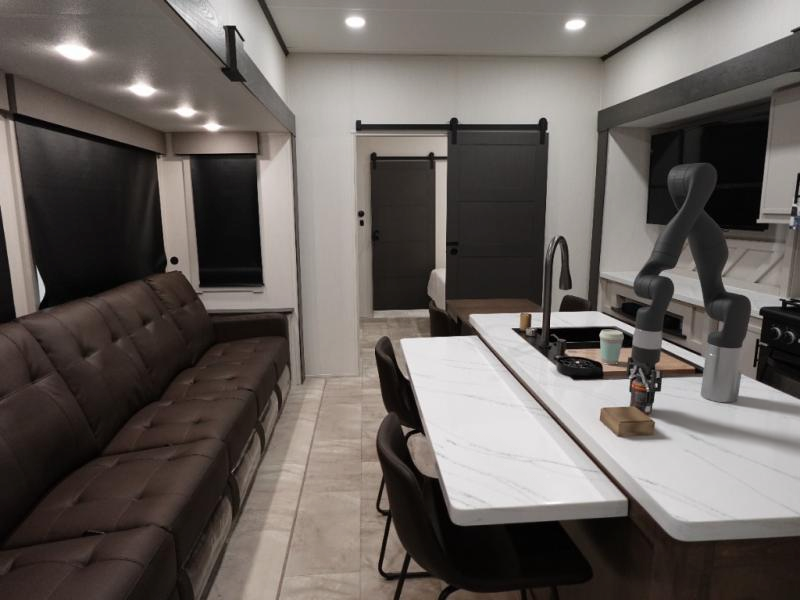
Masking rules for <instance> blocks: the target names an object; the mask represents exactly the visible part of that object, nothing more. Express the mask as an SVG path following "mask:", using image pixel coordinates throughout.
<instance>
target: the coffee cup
mask: <svg viewBox="0 0 800 600" xmlns="http://www.w3.org/2000/svg"><path fill="white" fill-rule="evenodd" d="M624 338H625V336H624V333H623V332H622V330H617V329H602V330H601V331H600V333H599V339H600V341H599V342H600V343H599V344H600V363H602V362H603V363H607V364H616V363H618V364H619V359H620V355H621V350H622V346H623V341H624ZM603 363H602V364H603Z"/></svg>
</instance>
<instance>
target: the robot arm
mask: <svg viewBox="0 0 800 600" xmlns="http://www.w3.org/2000/svg"><path fill="white" fill-rule="evenodd" d="M717 181H718V172H717V169H716V168H715V167H714V165H712V164H711V163H709V162H698V163H684V164H678V165H676V166H674V167H672V168H671V169H670V171H669V173H668V174H667V188H668V191H669V195H670V197H671V199H672V201H673V203H674V206H675V208H676V210H677V213H676V214H675V216H673V218H671V219H670V221H669V222H668V223H667V224H666V225H665V226H664V227H663V228H662V229H661V231H660V233H659V234H658V236H657V238H656V240H655V243H654V246H653V247H652V248H653V249H652V251H651V254H650V256H649V258H648V260H647V261H646V262H645V263H644V265H643V266H642V268H640V270H639V271H638V273H637V275H636V277H635V278H634V281H633V286H632V288H633V293H634V294H635V296H637V297H639V298H642V299H645V300H650V301H651V303H650V305H649V306H643V307H640V308H638V310H637V312H636V317H635V325H634V332H633V336H632V345H631V352H630V353H631V354H630V355H631V356H629V357H628V358H627V364H626V372H625V375H626V377H628V379H629V388H628V389H629V390H628V392H629V393H630V394H631V390H632V382H633V381H634V380H635V379H637V378H636V377H637V373H638V374H640V375H641V377H642V381H643V383H644V384H645V386H646V390H647V391H646V397H645V403H646V404H654V402H655V394H656V393H657V392H658V393H660V392H661V391H662V383H663V382H662V381H663V371H662V370H657V369H656V364H658V363H660V360H661V353H662V345H663V329H664V317H665V316H666V313H667V310H668V308H669V306H670V303H671V302H672V299H673V296H674V293H675V285H674V282H673V280H672V279H671V278H669V277H668V276H664V275H660V274H661V273H662V272H663V271H668V270H673V269H675V268H676V266H677V264H678V262H679V259H680V258H681V253H682V251H683V249H684V245H685V244H686V241H688V246H689V250H690V253H691V256H692V258H693V261H694V265H695V268H696V272H697V275H698V279H699V284H700V288H701V295H702V301H703V307H704V310H705V312H706V314H707V316H708V317H709V318H710V319H712V320H715V321H717V322H722V323H723V324H722V325H723V326H722V329H721V330H718V331H712V332H709V333H708V335H707V338H706V339H707V340H706V348H705V356H704V357H705V358H704V364H703V372H702V382H701V387H700V396H701V397H703V398H704V399H707V400H710V401H713V402H718V403H732V402H734V401H738V400H739V393H740V387H741V381H742V380H741V379H742V370H741V369H740V365H741V359H742V358H741V357H742V349H743V343H744V341H745V339H746V336H747V333H748V329H749V323H750V318H751V315H752V314H751V313H752V303H751V300H750V298H749V297H747V296H746V295H743V294H741V293H735V292H730V291H727V290H726V288H725V285H724V282H723V278H722V276H723V275H722V274H723V271H724V268H725V266H726V264H727V262H728V260H729V254H730V253H729V246H728V244H727V239H726V235H725V233H724V231H723V229H722V228H721V226H719V225H718V223H717V222H716V221H715V220H714V219H713V218H712V217H711V216H710V215H709V214H708V213H707V212H706V211H705V209H704V208H705V206H706V204H707V202H708V201H709V199H710V197H711V196H712V194H713V193H714V190H715V187H716V184H717ZM649 379H651V380H649ZM649 384H651V387H650V386H649Z"/></svg>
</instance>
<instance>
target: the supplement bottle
mask: <svg viewBox="0 0 800 600" xmlns="http://www.w3.org/2000/svg"><path fill="white" fill-rule="evenodd" d="M636 378H637V379H635V380H634V381H633V382H632V390H631V393H630V401H629V402H630V404H629V407H630V406H634V407H636V408H637V409H639V410H640V411H641V412H643V413H644V414H645V415H647V416H648V415H650V414H651V413H652V411H653V404H654V403H653V404H646V403H645V397H646V391H647V390H646V386H645V384H644V383H643V381H642V377H641V375H640V374H638V373H637V377H636ZM649 380H651V379H649ZM649 386H650V387H651V384H649Z"/></svg>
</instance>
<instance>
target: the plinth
mask: <svg viewBox="0 0 800 600" xmlns="http://www.w3.org/2000/svg"><path fill="white" fill-rule="evenodd" d="M599 412H600V414H599V417H600V418H599V421H600V422H601V423H602V424H603V425H604V426H605V427H607V429H609V430H610V432H612V434H614V435H615V436H616V437H634V436H635V437H637V436H639V437H640V436H654V435H655V428H656V421H655V420H653V419H652V418H651V417H649V416H648V414H647V415H645V414H644V413H643V412H641V411H640V410H639V409H637V408H636V407H634V406H630V405H629V406H609V407H608V406H607V407H602V408H600V411H599Z"/></svg>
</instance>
